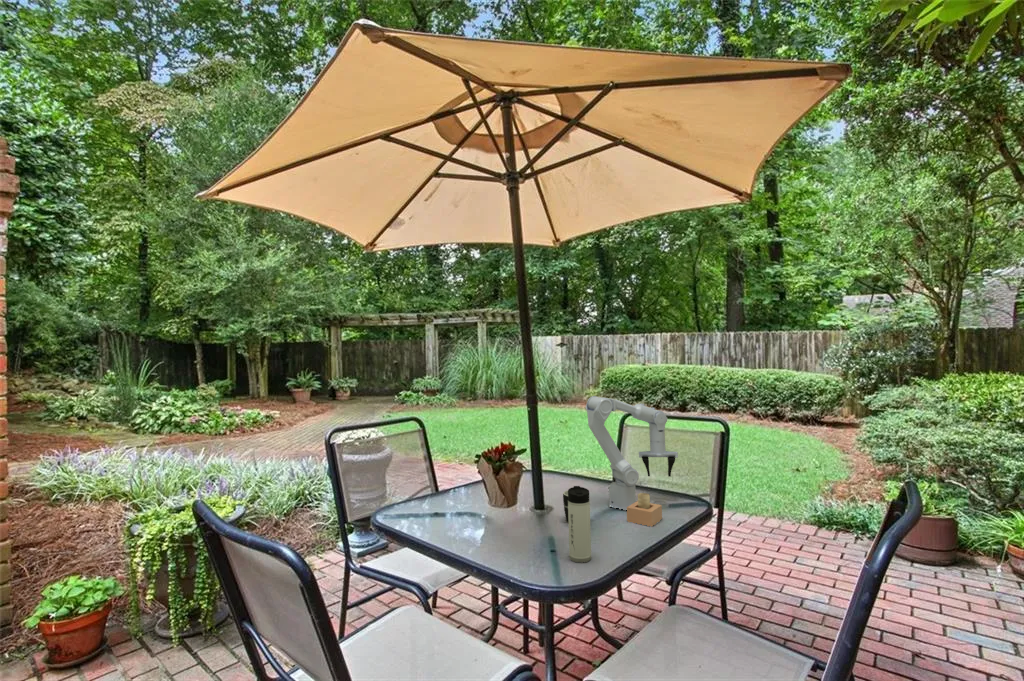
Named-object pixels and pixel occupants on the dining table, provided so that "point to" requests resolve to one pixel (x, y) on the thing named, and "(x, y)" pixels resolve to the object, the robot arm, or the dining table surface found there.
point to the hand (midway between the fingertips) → (659, 475)
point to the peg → (644, 500)
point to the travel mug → (579, 524)
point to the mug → (566, 504)
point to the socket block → (644, 514)
